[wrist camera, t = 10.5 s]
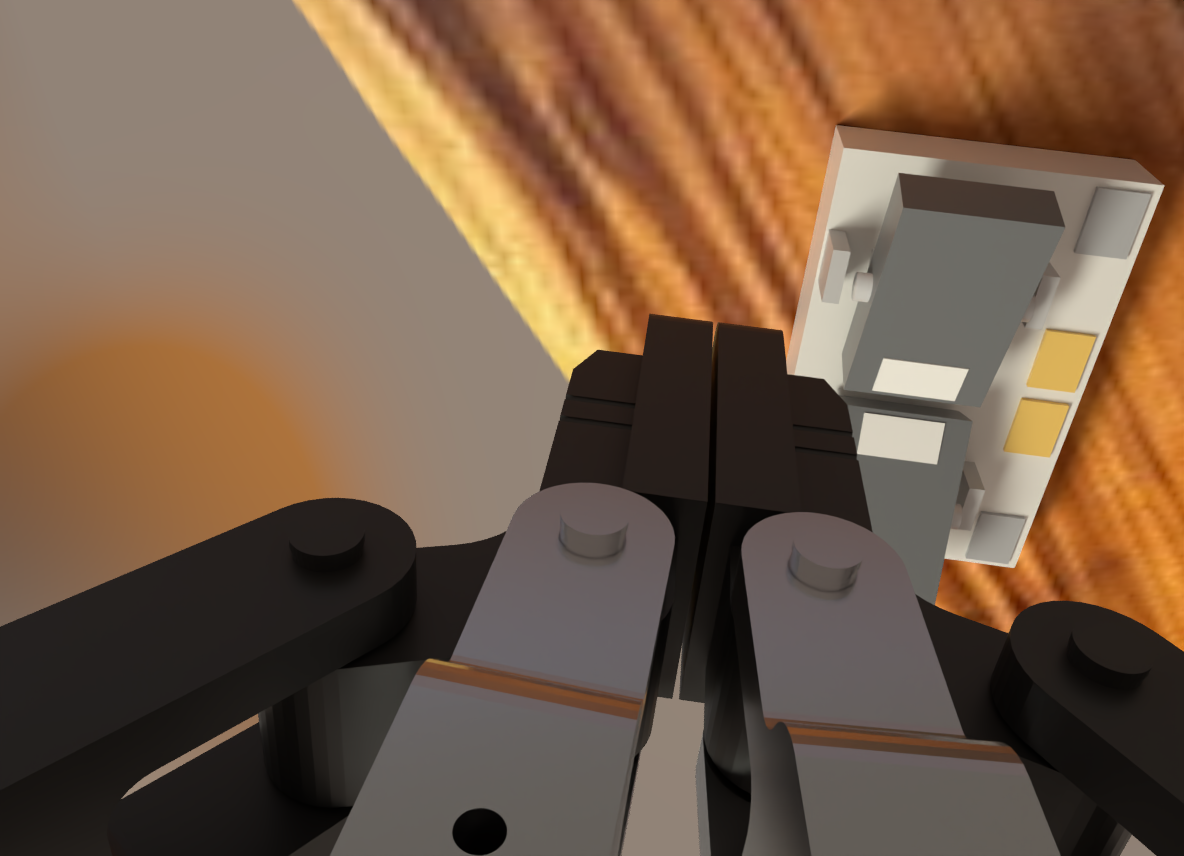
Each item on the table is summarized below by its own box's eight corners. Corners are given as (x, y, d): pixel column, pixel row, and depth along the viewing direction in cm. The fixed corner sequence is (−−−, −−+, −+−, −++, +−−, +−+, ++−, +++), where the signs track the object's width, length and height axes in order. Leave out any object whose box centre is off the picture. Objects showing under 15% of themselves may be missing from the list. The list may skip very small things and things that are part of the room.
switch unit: (1134, 159, 38) (1187, 204, 33) (998, 526, 47) (1025, 598, 42) (836, 124, 38) (849, 164, 34) (758, 493, 47) (761, 561, 43)
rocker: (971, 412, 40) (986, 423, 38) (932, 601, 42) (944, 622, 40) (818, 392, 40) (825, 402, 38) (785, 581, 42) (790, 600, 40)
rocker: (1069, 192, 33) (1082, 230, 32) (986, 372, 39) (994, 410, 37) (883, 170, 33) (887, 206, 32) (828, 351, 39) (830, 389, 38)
